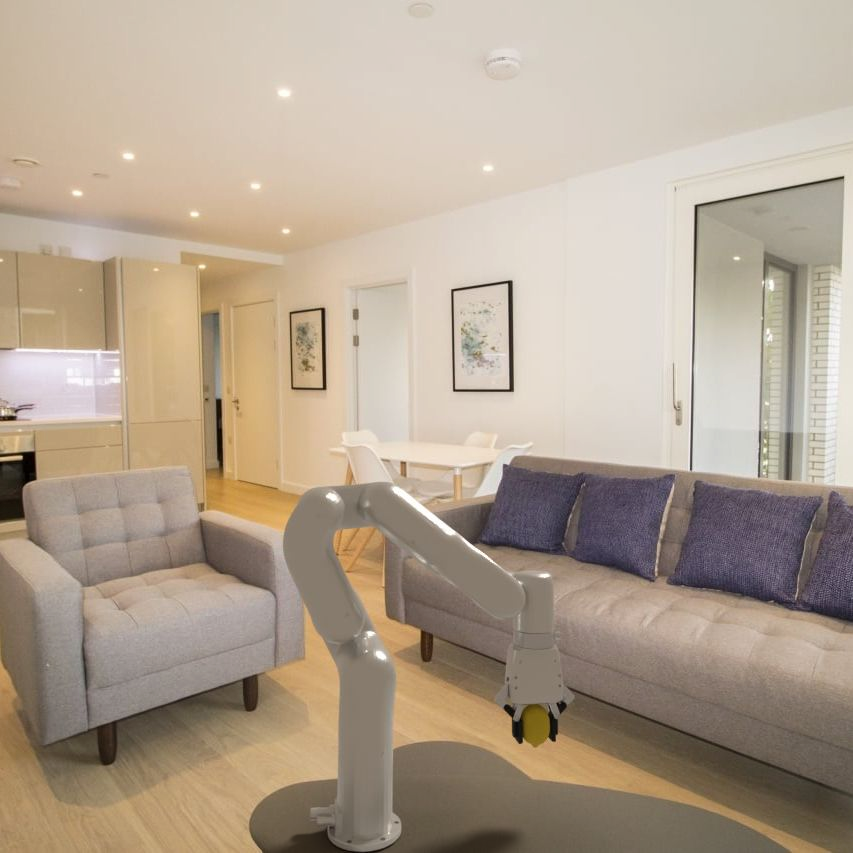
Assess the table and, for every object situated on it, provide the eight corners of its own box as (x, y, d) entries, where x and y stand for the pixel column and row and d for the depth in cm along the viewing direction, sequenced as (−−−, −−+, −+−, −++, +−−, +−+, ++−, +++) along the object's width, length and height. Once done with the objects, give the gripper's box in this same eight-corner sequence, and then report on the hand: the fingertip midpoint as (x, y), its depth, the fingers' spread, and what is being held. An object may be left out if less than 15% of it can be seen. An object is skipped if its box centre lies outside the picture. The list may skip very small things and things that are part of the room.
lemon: (519, 752, 115) (518, 706, 116) (520, 740, 120) (520, 696, 121) (550, 755, 114) (549, 708, 114) (550, 742, 119) (550, 698, 120)
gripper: (570, 632, 124) (572, 729, 122) (483, 635, 121) (484, 734, 120) (585, 642, 116) (587, 745, 115) (493, 646, 114) (494, 751, 112)
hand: (535, 738), depth 117 cm, fingers closed on lemon, 5 cm apart
